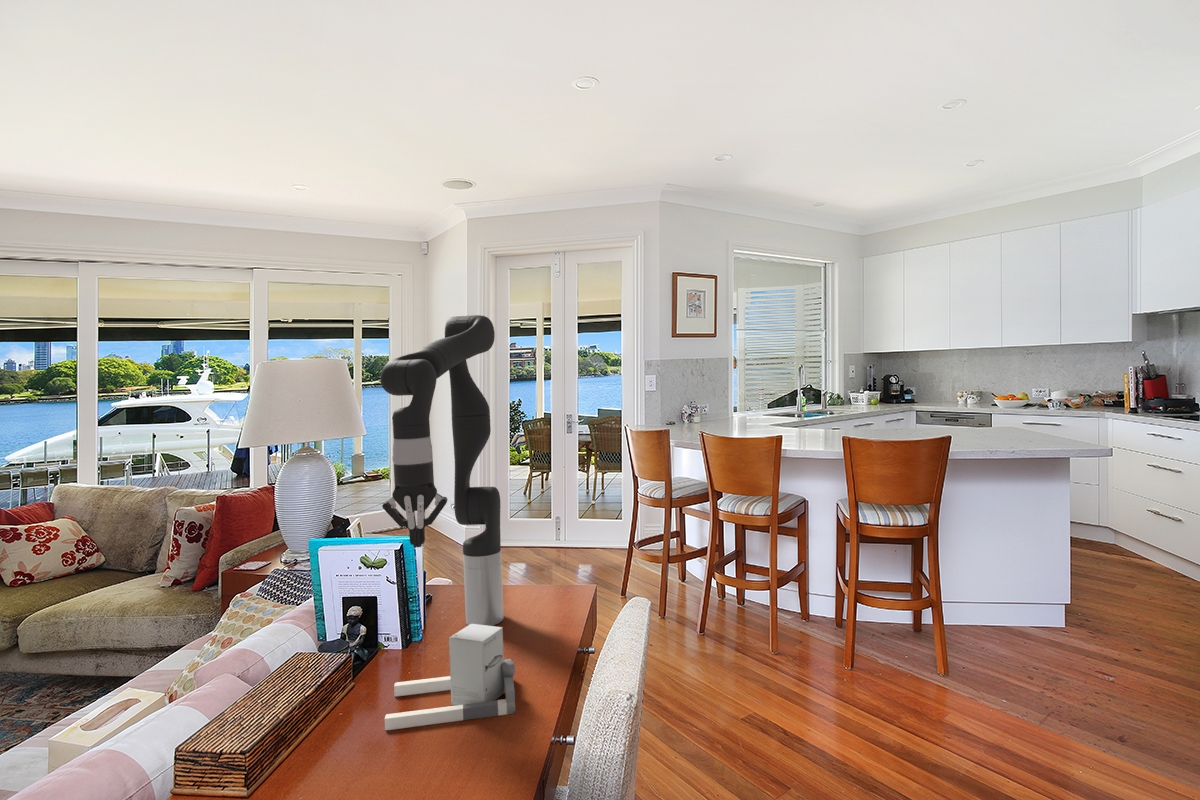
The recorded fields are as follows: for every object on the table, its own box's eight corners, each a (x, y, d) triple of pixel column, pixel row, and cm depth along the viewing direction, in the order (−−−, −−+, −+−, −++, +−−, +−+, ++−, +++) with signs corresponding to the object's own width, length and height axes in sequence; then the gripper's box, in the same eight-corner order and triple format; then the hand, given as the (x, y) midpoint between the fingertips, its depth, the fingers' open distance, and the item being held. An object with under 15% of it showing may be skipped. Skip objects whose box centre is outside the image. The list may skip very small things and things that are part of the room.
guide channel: (395, 692, 120) (394, 661, 120) (514, 678, 124) (512, 648, 124) (385, 730, 107) (383, 695, 107) (518, 712, 111) (516, 679, 111)
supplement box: (484, 712, 112) (481, 641, 112) (450, 705, 115) (447, 636, 115) (506, 692, 119) (503, 626, 118) (473, 686, 122) (470, 622, 121)
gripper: (448, 455, 130) (452, 538, 131) (381, 459, 128) (386, 544, 128) (446, 460, 123) (450, 548, 123) (375, 465, 120) (380, 554, 121)
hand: (417, 546), depth 126 cm, fingers closed
